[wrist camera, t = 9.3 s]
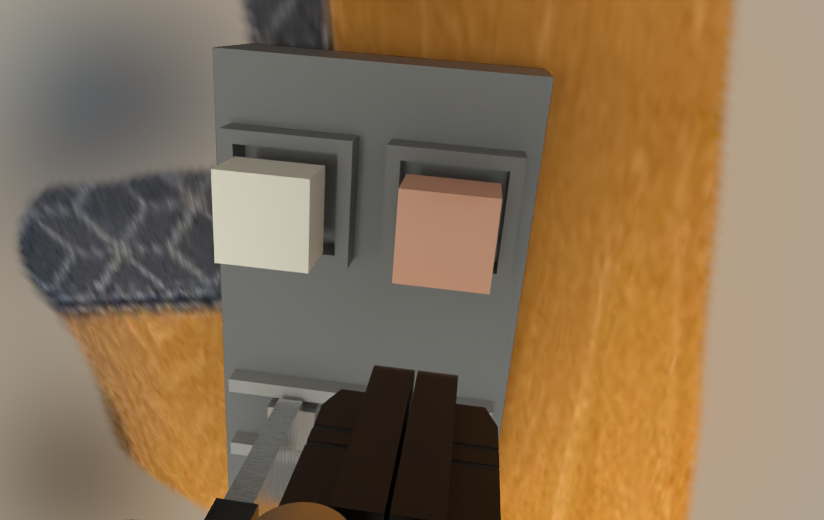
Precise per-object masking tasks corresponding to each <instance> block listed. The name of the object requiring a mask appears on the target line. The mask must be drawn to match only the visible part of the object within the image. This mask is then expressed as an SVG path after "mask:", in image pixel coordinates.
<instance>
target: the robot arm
mask: <svg viewBox="0 0 824 520" xmlns="http://www.w3.org/2000/svg"><path fill="white" fill-rule="evenodd" d="M414 379H415V370H411V369H403V368H395V367H387V366H379V365H374V367H373V370H372V373H371V376H370V379H369V382H368V385H367V388H366V391H365V392H360V391H353V390H345V389H341V390H339V391H338V392H337V393H336V394H334V395H333V396H332V397H331V398H329V399H328V400H327V401H326V402H324V403H323V404H322V406H321V408H320V411H319V413H318V415H317V418H316V420H315V422H314V427H313V428H312V429H311V432H310V434H309V436H308V439H307V443H306V444H305V446H304V448H303V450H302V453H301V455H300V457H299V460H298V462H297V464H296V467H295V469H294V471H293V474H292V476H291V478H290V481H289V483H288V485H287V488H286V490H285V492H284V495H283V497H282V499H281V501H280V504H279V506H278V507H276V508H273V509H271V510H269V511H267V512H265V513H264V514H263V515H261V516H260V517H259V518H257V519H256V520H501V513H500V479H499V452H498V449H499V445H498V426H497V425H496V423H495V422H494V420H493V419H492V417H491V415H490V414H489V412H488V411H487V409H486V408H485V407H478V406H470V405H463V404H456V398H457V385H458V375H452V374H444V373H436V372H429V371H421V370H418V373H417V377H416V383H415V388H414ZM413 391H414V393H413Z"/></svg>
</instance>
